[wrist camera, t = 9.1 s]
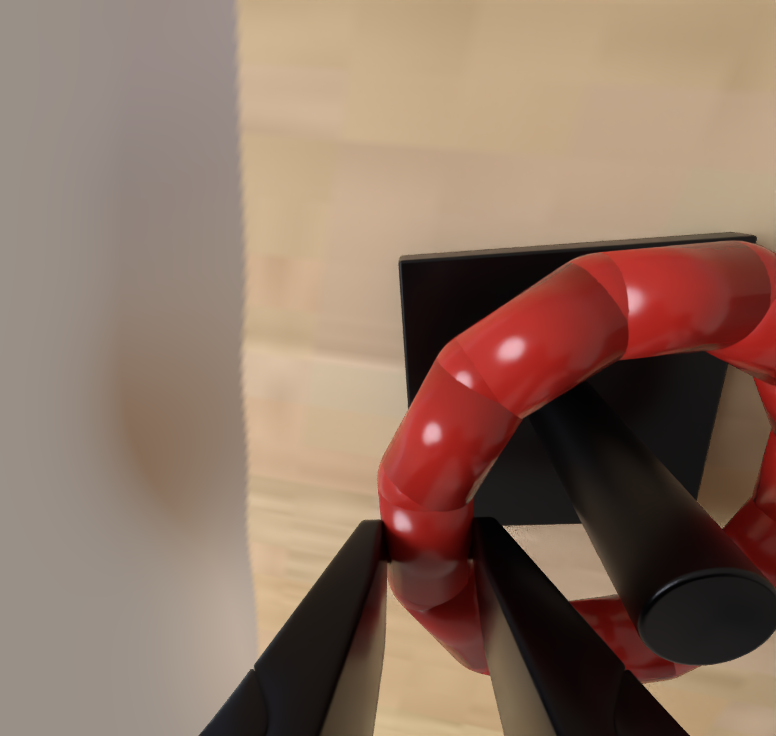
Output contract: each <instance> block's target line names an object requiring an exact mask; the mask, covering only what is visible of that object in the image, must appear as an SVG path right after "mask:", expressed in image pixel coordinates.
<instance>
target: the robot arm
mask: <svg viewBox="0 0 776 736" xmlns="http://www.w3.org/2000/svg"><path fill="white" fill-rule="evenodd" d="M472 552H473V567H474V576H475V584H476V592H477V600H478V608H479V617H480V625H481V633H482V639H483V645H484V650H485V655H486V660H487V664H488V668H489V672H490V677H491V681H492V685H493V689H494V694H495V698H496V702H497V706H498V711H499V715H500V719H501V723H502V727H503V732H504V736H690V735H689V734H688V733H687V732H686V731H685V730H684V729H683V728H682V727H681V726H680V725H679V724H678V723H677V722H676V720H675V719H674V718H673V717H672V716H671V715H670V714H669V713H668V712H667V711H666V710H665V709H664V708H663V706H662V705H661V704H660V703H659V702H658V701H657V700H656V699H655V698H654V697H653V696H652V695H651V693H650V692H649V691H648V690H647V689H646V688H645V687H644V686H643V684H642V683H641V682H640V681H639V680H638V679H637V678H636V676H635V675H634V674H633V673H632V672H631V671H630V670H628V669H627V670H625V664H624V663H623V662H622V661H621V660H620V659H619V658H618V656H617V655H616V654H615V653H614V652H613V651H612V650H611V648H610V647H609V646H608V645H607V644H606V643H605V642H604V641H603V639H602V638H601V637H600V636H599V635H598V634H597V633H596V632H595V630H594V629H593V628H592V627H591V626H590V625H589V624H588V622H587V621H586V620H585V619H584V618H583V617H582V616H581V615H580V613H579V612H578V611H577V610H576V609H575V608H574V607H573V606H572V604H571V603H570V602H569V601H568V600H567V599H566V598H565V597H564V595H563V594H562V593H561V592H560V591H559V590H558V589H557V587H556V586H555V585H554V584H553V583H552V582H551V581H550V580H549V578H548V577H547V576H546V575H545V574H544V573H543V572H542V571H541V569H540V568H539V567H538V566H537V565H536V564H535V563H534V561H533V560H532V559H531V558H530V557H529V556H528V555H527V554H526V552H525V551H524V550H523V549H522V548H521V547H520V546H519V545H518V543H517V542H516V541H515V540H514V539H513V538H512V537H511V536H510V534H509V533H508V532H507V531H506V530H505V529H504V528H503V526H502V525H501V524H500V523H499V522H498V521H497V520H496V519H495V518H494V517H474V518H473V520H472ZM386 601H387V554H386V544H385V534H384V525H383V521H382V520H363V521H362V522H361V523H360V524H359V525H358V527H357V528H356V529H355V531H354V532H353V533H352V535H351V536H350V537H349V539H348V540H347V541H346V543H345V544H344V545H343V547H342V548H341V549H340V551H339V552H338V553H337V555H336V556H335V557H334V559H333V560H332V561H331V563H330V564H329V565H328V567H327V568H326V569H325V571H324V572H323V573H322V575H321V576H320V578H319V579H318V580H317V582H316V583H315V584H314V586H313V587H312V588H311V590H310V591H309V592H308V594H307V595H306V596H305V598H304V599H303V600H302V602H301V603H300V604H299V606H298V607H297V608H296V610H295V611H294V612H293V614H292V615H291V616H290V618H289V619H288V620H287V622H286V623H285V624H284V626H283V627H282V628H281V630H280V631H279V632H278V634H277V635H276V636H275V638H274V639H273V640H272V642H271V643H270V644H269V646H268V647H267V648H266V650H265V651H264V652H263V654H262V655H261V656H260V658H259V659H258V660H257V662H256V663H255V665H254V669H255V670H254V669H251V670H250V671H249V672H248V673H247V675H246V676H245V678H244V679H243V680H242V682H241V683H240V684H239V686H238V687H237V688H236V690H235V691H234V692H233V693H232V695H231V696H230V697H229V699H228V700H227V701H226V702H225V704H224V705H223V706H222V708H221V709H220V710H219V711H218V713H217V714H216V715H215V716H214V718H213V719H212V720H211V722H210V723H209V724H208V725H207V726H206V728H205V729H204V730H203V731H202V732H201V734H200V735H199V736H373V733H374V726H375V718H376V711H377V703H378V696H379V689H380V681H381V674H382V667H383V659H384V650H385V637H386Z"/></svg>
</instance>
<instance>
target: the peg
mask: <svg viewBox="0 0 776 736" xmlns="http://www.w3.org/2000/svg"><path fill="white" fill-rule="evenodd" d="M718 241H745V242H750V243H754V244H756V241H757V237H756V236H754V235H749V234H741V233H734V232H726V233H712V234H698V235H684V236H670V237H656V238H642V239H628V240H614V241H600V242H586V243H573V244H559V245H545V246H531V247H517V248H503V249H489V250H475V251H461V252H447V253H433V254H419V255H405V256H401V257H400V259H399V279H400V294H401V308H402V323H403V338H404V353H405V368H406V383H407V398H408V409H409V407H410V405H411V404H412V402H413V400H414V398H415V396H416V394H417V392H418V391H419V389H420V387H421V385H422V383H423V381H424V379H425V378H426V376H427V374H428V372H429V370H430V368H431V367H432V365H433V363H434V361H435V359H436V357H437V355H438V354H439V352H440V351H441V350H442V348H443V347H444V346H445V345H446V344H447V343H448V342H449V341H450V340H452V339H453V338H454V337H456V336H457V335H459V334H460V333H462V332H463V331H465V330H466V329H468V328H469V327H471V326H472V325H474V324H475V323H477V322H478V321H480V320H481V319H483V318H484V317H486V316H487V315H489V314H490V313H492V312H493V311H495V310H496V309H498V308H499V307H501V306H502V305H504V304H505V303H507V302H508V301H510V300H511V299H513V298H514V297H516V296H517V295H519V294H520V293H522V292H523V291H525V290H526V289H528V288H529V287H531V286H532V285H534V284H535V283H537V282H538V281H540V280H541V279H543V278H544V277H546V276H547V275H549V274H550V273H552V272H553V271H555V270H556V269H558V268H559V267H561V266H562V265H564V264H565V263H567V262H569V261H570V260H573V259H575V258H577V257H580V256H583V255H587V254H591V253H598V252H609V251H620V250H631V249H642V248H653V247H664V246H674V245H685V244H696V243H707V242H718ZM727 366H728V363H726V362H724V361H723V360H721V359H719V358H717V357H715V356H713V355H711V354H709V353H707V352H705V351H702V352H693V353H683V354H674V355H664V356H655V357H646V358H636V359H627V360H618V361H616V362H614V363H613V364H611V365H610V366H608V367H606V368H605V369H603V370H601V371H600V372H598V373H597V374H595V375H593V376H592V377H590V378H589V379H587V380H585V381H584V382H582V383H580V384H579V385H577V386H576V387H574V388H572V389H571V390H569V391H568V392H566V393H564V394H563V395H561V396H559V397H558V398H556V399H555V400H553V401H551V402H550V403H548V404H547V405H545V406H543V407H542V408H540V409H538V410H537V411H535V412H534V413H532V414H530V415H529V416H527V417H525V418H524V419H523V420H522V422H521V423H520V425H519V426H518V428H517V429H516V431H515V433H514V434H513V436H512V437H511V439H510V440H509V442H508V444H507V445H506V447H505V448H504V450H503V451H502V453H501V455H500V456H499V458H498V459H497V461H496V462H495V464H494V465H493V467H492V469H491V470H490V472H489V473H488V475H487V476H486V478H485V480H484V481H483V483H482V484H481V486H480V487H479V489H478V491H477V492H476V494H475V495H474V517H494V518H495V519H496V520H497V521H498V522H499V523H500V524H501V525H502V526H510V525H552V524H583V526H584V528H585V530H586V532H587V534H588V536H589V538H590V540H591V542H592V544H593V546H594V548H595V550H596V552H597V554H598V556H599V558H600V560H601V562H602V564H603V566H604V568H605V570H606V572H607V574H608V576H609V578H610V580H611V582H612V583H613V585H614V587H615V589H616V591H617V593H618V595H619V597H620V599H621V601H622V603H623V605H624V607H625V609H626V611H627V613H628V615H629V617H630V619H631V621H632V623H633V625H634V627H635V629H636V631H637V633H638V635H639V637H640V638H641V640H642V642H643V643H644V644H645V645H646V646H647V647H648V648H649V649H650V650H651V651H652V652H653V653H655V654H656V655H658V656H659V657H661V658H663V659H665V660H668V661H671V662H674V663H678V664H683V665H694V666H701V665H713V664H718V663H723V662H727V661H730V660H734V659H736V658H739V657H741V656H743V655H746V654H748V653H750V652H751V651H753V650H755V649H756V648H758V647H759V646H760V645H762V644H763V643H764V642H765V641H766V640H767V639H769V637H770V636H771V635H772V634H773V633H774V631H775V630H776V589H775V587H774V586H773V585H772V583H771V582H770V581H769V580H768V579H767V578H766V577H765V576H764V575H763V574H762V572H761V571H760V570H759V569H758V568H757V567H756V566H755V565H754V564H753V563H752V561H751V560H750V559H749V558H748V557H747V556H746V555H745V554H744V553H743V552H742V551H741V549H740V548H739V547H738V546H737V545H736V544H735V543H734V542H733V541H732V540H731V538H730V537H729V536H728V535H727V534H726V533H725V532H724V531H723V530H722V529H721V527H720V526H719V525H718V524H717V523H716V522H715V521H714V520H713V519H712V518H711V516H710V515H709V514H708V513H707V512H706V511H705V510H704V509H703V508H702V507H701V506H700V504H699V503H698V502H697V497H698V492H699V488H700V484H701V479H702V475H703V471H704V466H705V462H706V458H707V453H708V449H709V445H710V440H711V436H712V432H713V427H714V423H715V419H716V414H717V410H718V405H719V401H720V397H721V392H722V388H723V384H724V379H725V375H726V371H727Z"/></svg>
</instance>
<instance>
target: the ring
mask: <svg viewBox="0 0 776 736" xmlns="http://www.w3.org/2000/svg"><path fill="white" fill-rule="evenodd" d="M702 351H705V352H707V353H709V354H711V355H713V356H715V357H717V358H719V359H721V360H723V361H724V362H726V363H728V364H730V365H732V366H734V367H736V368H738V369H740V370H742V371H744V372H745V373H747V374H749V375H751V376H753V378H754V381H755V384H756V386H757V389H758V392H759V395H760V397H761V400H762V403H763V406H764V409H765V411H766V414H767V417H768V420H769V422H770V425H771V432H770V435H769V439H768V442H767V446H766V449H765V453H764V456H763V460H762V463H761V467H760V470H759V473H758V477H757V480H756V484H755V487H754V491H753V494H752V496H751V497H750V498H749V500H748V501H747V502H746V503H745V504H744V505H743V506H742V507H741V509H740V510H739V511H738V512H737V513H736V514H735V515H734V517H733V518H732V519H731V520H730V521H729V522H728V523H727V524H726V526H725V527H724V528H723V529H722V530H723V531H724V532H725V533H726V534H727V535H728V536H729V537H730V538H731V540H732V541H733V542H734V543H735V544H736V545H737V546H738V547H739V548H740V549H741V551H742V552H743V553H744V554H745V555H746V556H747V557H748V558H749V559H750V560H751V561H752V563H753V564H754V565H755V566H756V567H757V568H758V569H759V570H760V571H761V572H762V574H763V575H764V576H765V577H766V578H767V579H768V580H769V581H770V582H771V583H772V585H773V586H774V587H775V589H776V253H774V252H772V251H771V250H769V249H767V248H765V247H763V246H761V245H758V244H754V243H750V242H745V241H718V242H707V243H696V244H685V245H674V246H664V247H653V248H642V249H631V250H620V251H609V252H598V253H591V254H587V255H583V256H580V257H577V258H575V259H573V260H570V261H569V262H567V263H565V264H564V265H562V266H561V267H559V268H558V269H556V270H555V271H553V272H552V273H550V274H549V275H547V276H546V277H544V278H543V279H541V280H540V281H538V282H537V283H535V284H534V285H532V286H531V287H529V288H528V289H526V290H525V291H523V292H522V293H520V294H519V295H517V296H516V297H514V298H513V299H511V300H510V301H508V302H507V303H505V304H504V305H502V306H501V307H499V308H498V309H496V310H495V311H493V312H492V313H490V314H489V315H487V316H486V317H484V318H483V319H481V320H480V321H478V322H477V323H475V324H474V325H472V326H471V327H469V328H468V329H466V330H465V331H463V332H462V333H460V334H459V335H457V336H456V337H454V338H453V339H452V340H450V341H449V342H448V343H447V344H446V345H445V346H444V347H443V348H442V350H441V351H440V352H439V354H438V355H437V357H436V359H435V361H434V363H433V365H432V367H431V368H430V370H429V372H428V374H427V376H426V378H425V379H424V381H423V383H422V385H421V387H420V389H419V391H418V392H417V394H416V396H415V398H414V400H413V402H412V404H411V405H410V407H409V409H408V411H407V413H406V415H405V417H404V418H403V420H402V422H401V424H400V426H399V428H398V430H397V431H396V433H395V435H394V437H393V439H392V441H391V442H390V444H389V446H388V448H387V450H386V452H385V454H384V455H383V458H382V460H381V462H380V465H379V469H378V478H377V481H378V494H379V504H380V513H381V520H382V521H383V525H384V534H385V544H386V554H387V578H388V582H389V585H390V588H391V590H392V592H393V594H394V596H395V597H396V598H397V600H398V601H399V602H400V603H401V604H402V605H403V606H404V607H405V608H406V609H407V610H408V611H409V612H410V613H411V615H412V616H413V617H414V618H415V619H416V620H417V621H418V622H419V623H420V624H421V625H422V626H423V627H424V628H425V629H426V630H427V631H428V632H429V633H430V634H431V635H432V636H433V637H434V638H435V639H436V640H437V641H438V642H439V643H440V644H441V645H442V646H443V647H444V648H445V649H446V650H447V651H448V652H449V653H450V654H451V655H452V656H453V657H454V658H455V659H456V660H457V661H458V662H459V663H460V664H462V665H463V666H465V667H466V668H468V669H469V670H472V671H474V672H477V673H481V674H485V675H489V676H490V672H489V668H488V664H487V660H486V655H485V650H484V645H483V639H482V633H481V625H480V617H479V608H478V600H477V592H476V584H475V576H474V567H473V552H472V520H473V518H474V495H475V494H476V492H477V491H478V489H479V487H480V486H481V484H482V483H483V481H484V480H485V478H486V476H487V475H488V473H489V472H490V470H491V469H492V467H493V465H494V464H495V462H496V461H497V459H498V458H499V456H500V455H501V453H502V451H503V450H504V448H505V447H506V445H507V444H508V442H509V440H510V439H511V437H512V436H513V434H514V433H515V431H516V429H517V428H518V426H519V425H520V423H521V422H522V420H523V419H524V418H525V417H527V416H529V415H530V414H532V413H534V412H535V411H537V410H538V409H540V408H542V407H543V406H545V405H547V404H548V403H550V402H551V401H553V400H555V399H556V398H558V397H559V396H561V395H563V394H564V393H566V392H568V391H569V390H571V389H572V388H574V387H576V386H577V385H579V384H580V383H582V382H584V381H585V380H587V379H589V378H590V377H592V376H593V375H595V374H597V373H598V372H600V371H601V370H603V369H605V368H606V367H608V366H610V365H611V364H613V363H614V362H616V361H618V360H627V359H636V358H646V357H655V356H664V355H674V354H683V353H693V352H702ZM569 602H570V603H571V604H572V606H573V607H574V608H575V609H576V610H577V611H578V612H579V613H580V615H581V616H582V617H583V618H584V619H585V620H586V621H587V622H588V624H589V625H590V626H591V627H592V628H593V629H594V630H595V632H596V633H597V634H598V635H599V636H600V637H601V638H602V639H603V641H604V642H605V643H606V644H607V645H608V646H609V647H610V648H611V650H612V651H613V652H614V653H615V654H616V655H617V656H618V658H619V659H620V660H621V661H622V662H623V663H624V664H625V670H627V669H628V670H630V671H631V672H632V673H633V674H634V675H635V676H636V678H637V679H638V680H639V681H640V682H641V683H642V684H645V683H651V682H658V681H665V680H670V679H674V678H677V677H679V676H681V675H683V674H685V673H687V672H689V671H692V670H694V669H696V668H698V667H700V666H694V665H683V664H678V663H674V662H671V661H668V660H665V659H663V658H661V657H659V656H658V655H656V654H655V653H653V652H652V651H651V650H650V649H649V648H648V647H647V646H646V645H645V644H644V643H643V642H642V640H641V638H640V637H639V635H638V633H637V631H636V629H635V627H634V625H633V623H632V621H631V619H630V617H629V615H628V613H627V611H626V609H625V607H624V605H623V603H622V601H621V599H620V597H619V595H618V594H617V595H610V596H602V597H595V598H588V599H580V600H573V601H569ZM701 666H702V665H701Z"/></svg>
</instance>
